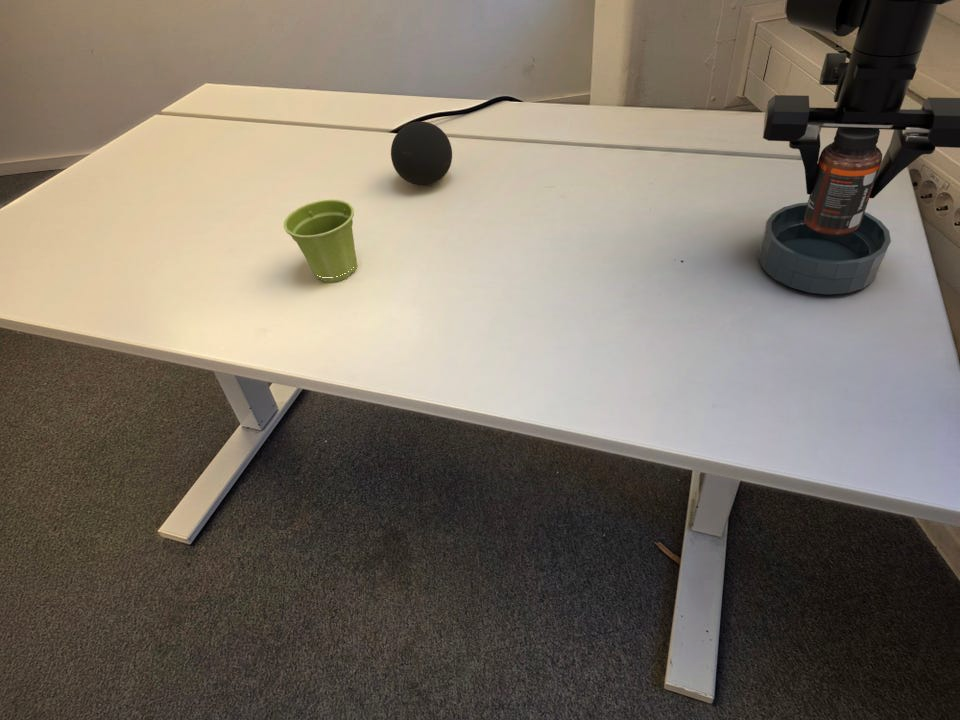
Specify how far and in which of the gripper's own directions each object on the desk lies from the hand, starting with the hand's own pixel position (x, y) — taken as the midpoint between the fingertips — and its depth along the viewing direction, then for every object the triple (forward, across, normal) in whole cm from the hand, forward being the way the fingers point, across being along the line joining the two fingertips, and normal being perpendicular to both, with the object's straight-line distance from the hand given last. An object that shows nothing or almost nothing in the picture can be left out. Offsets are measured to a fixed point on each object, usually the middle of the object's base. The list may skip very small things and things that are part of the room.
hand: (839, 194), depth 69 cm
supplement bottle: (+4, 0, 0) cm, 4 cm away
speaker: (+10, +59, -13) cm, 61 cm away
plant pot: (+10, +62, +13) cm, 64 cm away
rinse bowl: (+10, 0, 0) cm, 10 cm away
